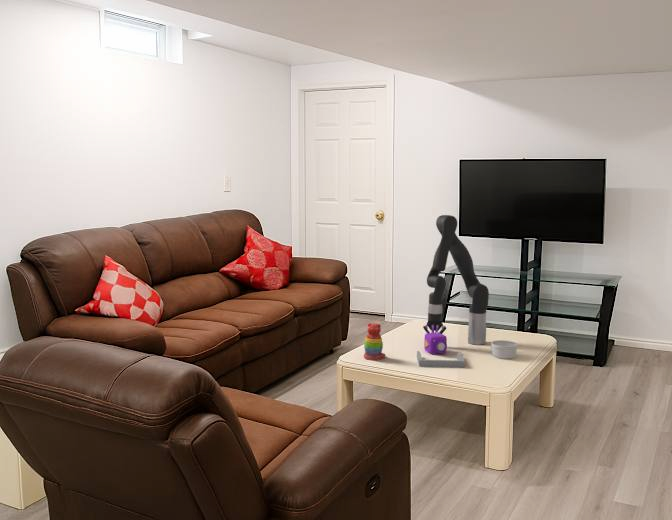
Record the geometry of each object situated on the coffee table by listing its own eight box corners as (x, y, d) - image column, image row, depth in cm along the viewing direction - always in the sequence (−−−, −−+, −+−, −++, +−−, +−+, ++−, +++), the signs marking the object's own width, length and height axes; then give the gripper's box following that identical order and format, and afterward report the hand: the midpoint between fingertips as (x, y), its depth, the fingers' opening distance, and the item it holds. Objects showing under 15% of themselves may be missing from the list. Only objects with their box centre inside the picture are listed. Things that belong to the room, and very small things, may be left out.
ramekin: (499, 351, 369) (500, 338, 369) (522, 356, 360) (522, 343, 359) (485, 356, 360) (486, 343, 359) (508, 361, 351) (508, 348, 350)
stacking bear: (386, 356, 358) (387, 322, 356) (381, 361, 349) (381, 326, 346) (366, 354, 362) (366, 320, 359) (360, 359, 352) (360, 324, 350)
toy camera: (435, 357, 357) (436, 338, 356) (420, 350, 369) (421, 332, 368) (453, 354, 362) (453, 335, 361) (437, 348, 374) (438, 330, 373)
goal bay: (460, 357, 356) (460, 352, 356) (464, 367, 340) (464, 361, 339) (416, 356, 357) (416, 351, 357) (419, 366, 341) (419, 360, 340)
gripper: (446, 310, 379) (445, 341, 382) (422, 310, 380) (421, 341, 382) (448, 313, 372) (447, 345, 374) (423, 313, 372) (422, 344, 375)
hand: (434, 343), depth 378 cm, fingers closed
